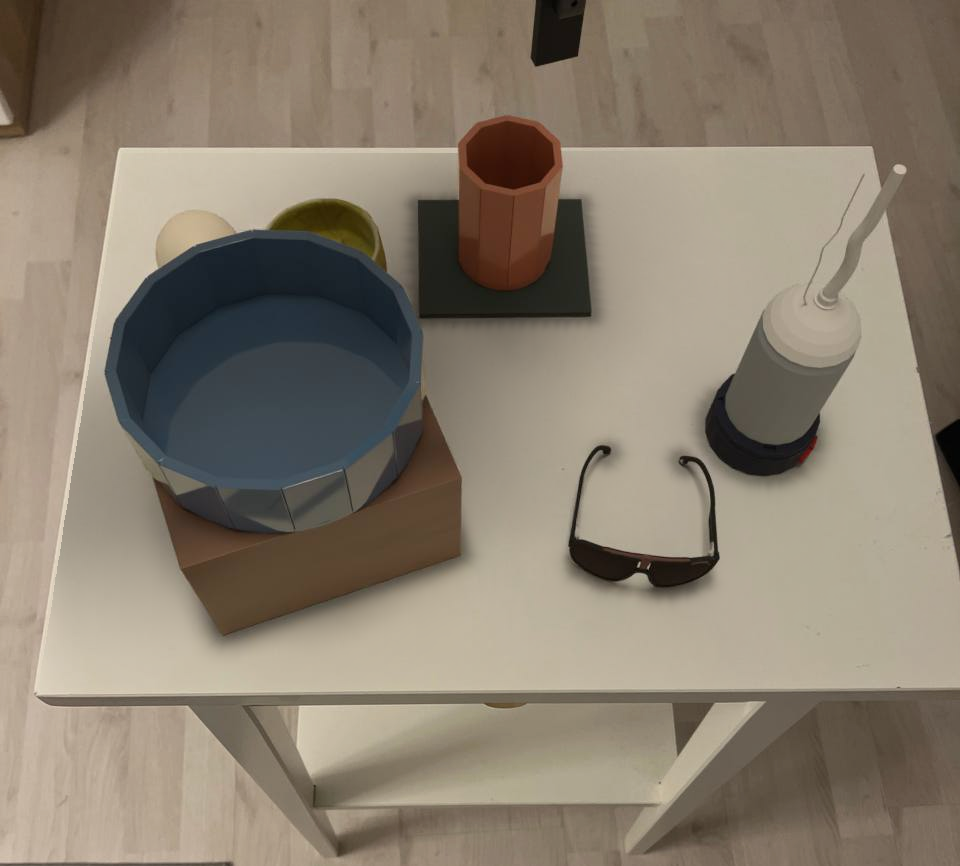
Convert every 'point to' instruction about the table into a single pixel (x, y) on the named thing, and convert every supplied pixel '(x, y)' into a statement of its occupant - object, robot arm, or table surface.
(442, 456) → the riser
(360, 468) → the bowl
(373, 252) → the mug
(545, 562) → the table surface
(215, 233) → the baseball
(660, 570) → the sunglasses
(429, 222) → the mat
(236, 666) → the table surface
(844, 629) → the table surface
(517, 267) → the cup
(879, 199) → the humidifier
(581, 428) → the table surface
